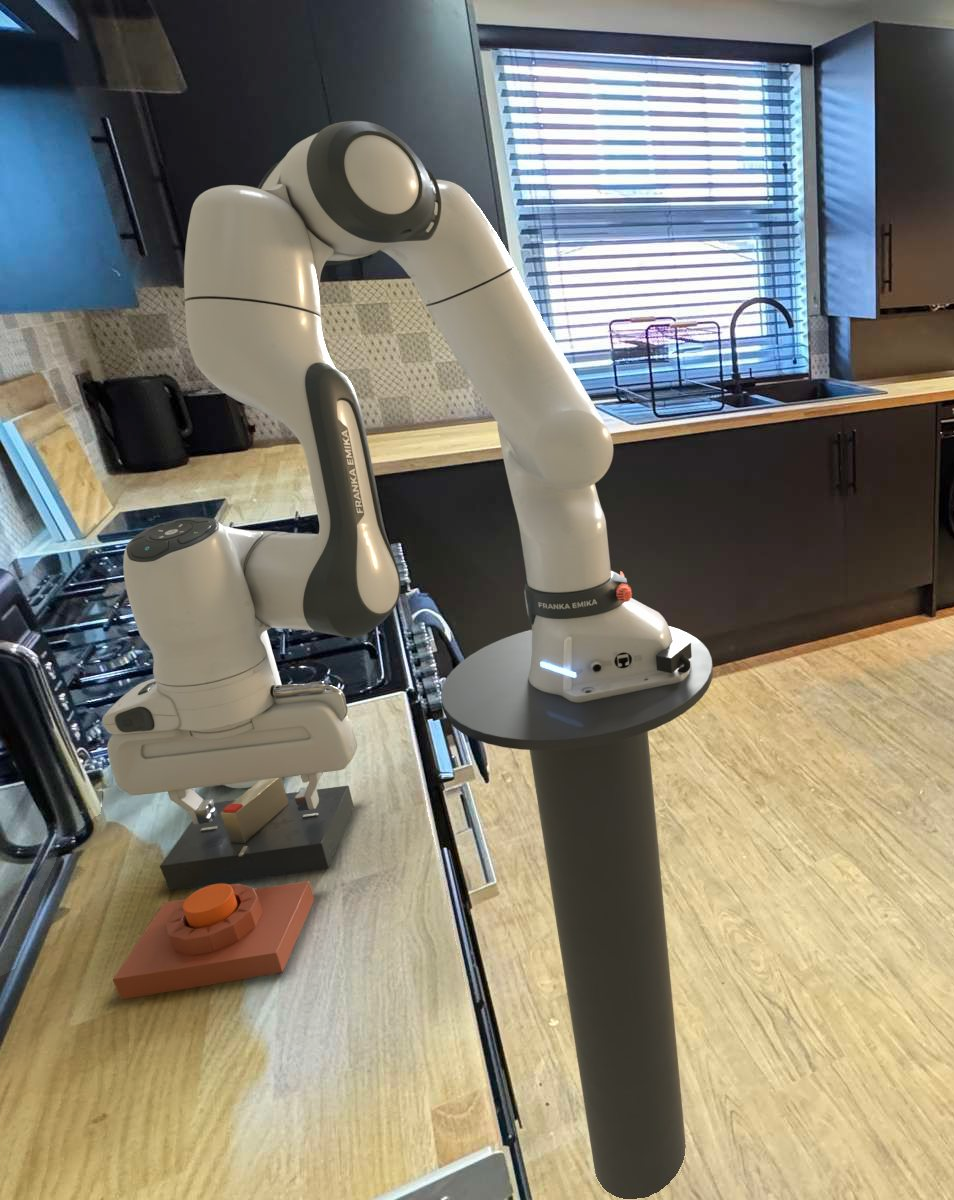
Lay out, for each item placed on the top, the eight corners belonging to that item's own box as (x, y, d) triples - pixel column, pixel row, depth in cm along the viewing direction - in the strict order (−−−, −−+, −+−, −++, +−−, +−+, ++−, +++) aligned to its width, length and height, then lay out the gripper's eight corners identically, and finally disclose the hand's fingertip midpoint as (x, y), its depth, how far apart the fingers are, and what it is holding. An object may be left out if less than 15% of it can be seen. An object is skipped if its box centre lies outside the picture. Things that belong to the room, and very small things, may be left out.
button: (244, 896, 74) (239, 880, 74) (228, 925, 71) (222, 908, 70) (198, 902, 74) (193, 886, 73) (180, 932, 70) (174, 916, 70)
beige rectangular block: (274, 802, 88) (266, 772, 87) (289, 803, 88) (280, 773, 86) (229, 842, 82) (219, 810, 81) (245, 843, 82) (234, 811, 81)
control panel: (355, 806, 92) (349, 782, 91) (327, 870, 83) (320, 844, 82) (213, 825, 90) (205, 800, 88) (167, 893, 80) (157, 866, 79)
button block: (314, 899, 79) (304, 865, 77) (282, 972, 71) (270, 936, 69) (171, 921, 77) (157, 886, 75) (120, 999, 68) (104, 962, 67)
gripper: (348, 665, 84) (376, 781, 90) (116, 688, 80) (160, 809, 85) (331, 694, 79) (361, 817, 84) (80, 721, 74) (129, 848, 80)
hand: (258, 813), depth 85 cm, fingers open, 8 cm apart
